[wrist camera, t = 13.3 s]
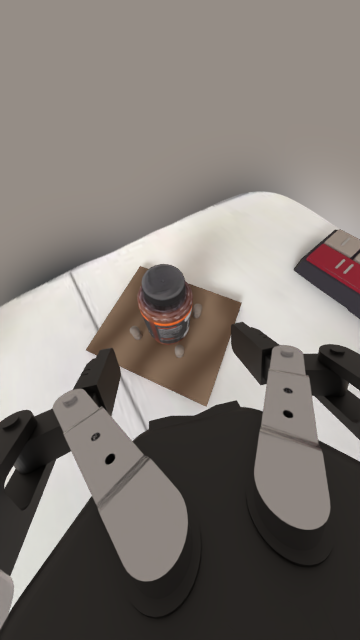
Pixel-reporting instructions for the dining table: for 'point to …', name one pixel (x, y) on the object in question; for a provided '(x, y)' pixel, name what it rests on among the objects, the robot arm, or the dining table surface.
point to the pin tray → (176, 359)
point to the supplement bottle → (165, 303)
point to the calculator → (335, 269)
